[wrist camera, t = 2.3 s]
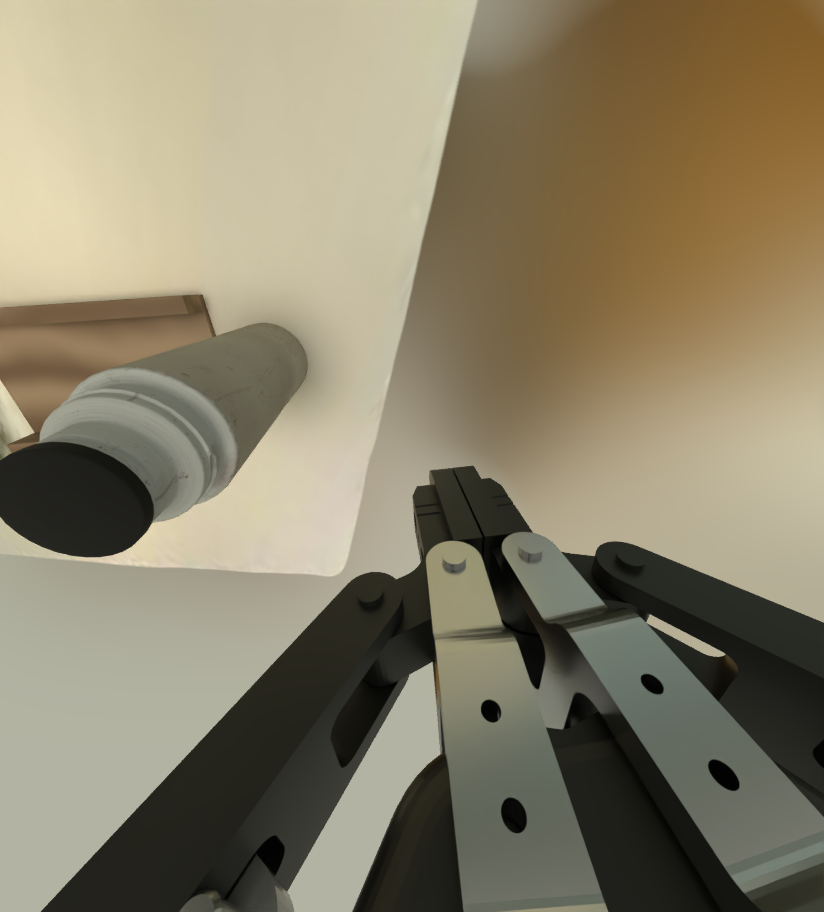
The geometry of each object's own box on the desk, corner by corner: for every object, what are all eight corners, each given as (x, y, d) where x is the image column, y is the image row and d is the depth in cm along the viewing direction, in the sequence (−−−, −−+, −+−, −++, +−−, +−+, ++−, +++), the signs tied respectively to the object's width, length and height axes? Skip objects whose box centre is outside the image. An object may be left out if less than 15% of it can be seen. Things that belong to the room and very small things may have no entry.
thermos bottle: (227, 381, 37) (-61, 568, 12) (239, 310, 34) (-112, 368, 9) (297, 405, 39) (173, 603, 14) (315, 340, 36) (196, 451, 11)
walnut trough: (-35, 310, 31) (-86, 313, 28) (202, 294, 33) (182, 295, 29) (48, 441, 38) (15, 457, 34) (243, 423, 39) (231, 436, 36)
